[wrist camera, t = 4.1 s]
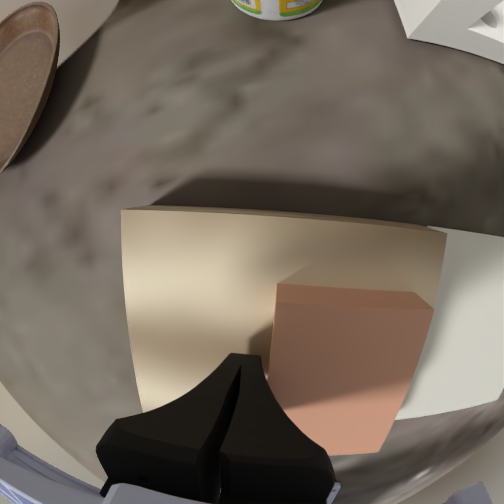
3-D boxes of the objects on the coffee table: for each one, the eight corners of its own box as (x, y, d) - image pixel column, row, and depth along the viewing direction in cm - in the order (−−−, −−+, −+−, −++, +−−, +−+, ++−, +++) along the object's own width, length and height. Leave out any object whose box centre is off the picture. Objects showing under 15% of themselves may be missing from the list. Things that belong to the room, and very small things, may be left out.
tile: (370, 426, 13) (378, 451, 11) (261, 425, 13) (258, 453, 11) (413, 291, 11) (434, 309, 9) (277, 283, 12) (276, 301, 10)
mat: (495, 397, 15) (497, 399, 15) (376, 418, 16) (377, 421, 16) (545, 244, 12) (548, 245, 12) (426, 225, 13) (428, 226, 13)
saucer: (105, 89, 14) (79, 77, 11) (-10, 222, 16) (-33, 227, 14) (59, -13, 12) (42, -25, 9) (-35, 102, 14) (-53, 100, 12)
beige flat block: (369, 419, 16) (379, 449, 13) (163, 403, 17) (147, 432, 14) (418, 224, 13) (447, 233, 10) (149, 205, 14) (121, 209, 12)
